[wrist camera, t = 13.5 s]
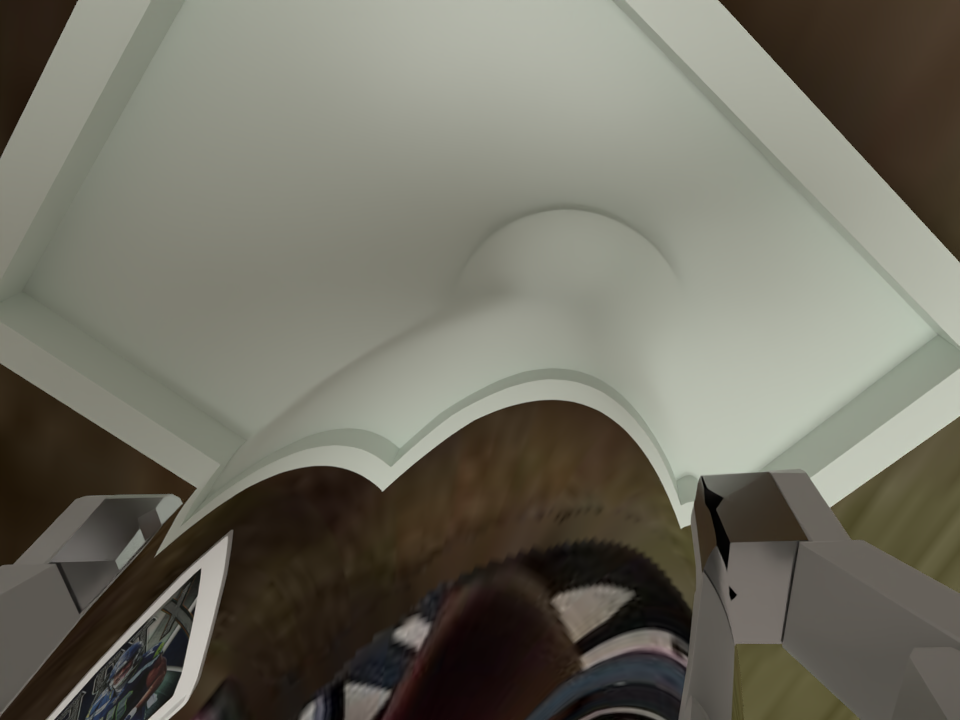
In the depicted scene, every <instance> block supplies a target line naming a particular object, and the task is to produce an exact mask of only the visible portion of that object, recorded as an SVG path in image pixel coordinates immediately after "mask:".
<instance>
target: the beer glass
mask: <svg viewBox="0 0 960 720" xmlns="http://www.w3.org/2000/svg"><path fill="white" fill-rule="evenodd" d="M687 331H688V316H687V308H686V303H685V299H684V295H683V292H682V289H681V287H680V284H679V282H678V280H677V278H676V276H675V274H674V272H673V271H672V269H671V267H670V266H669V264H668V263H667V261H666V260H665V258H664V257H663V256H662V255H661V253H660V252H659V251H658V250H657V249H656V248H655V247H654V246H653V245H652V244H651V243H650V242H649V241H648V240H647V239H646V238H644V237H643V236H642V235H641V234H639V233H638V232H636V231H635V230H633V229H632V228H630V227H628V226H627V225H625V224H623V223H621V222H619V221H617V220H615V219H612V218H609V217H607V216H604V215H600V214H597V213H592V212H587V211H581V210H550V211H543V212H538V213H534V214H530V215H527V216H524V217H521V218H519V219H517V220H514V221H512V222H510V223H508V224H507V225H505V226H503V227H502V228H500V229H498V230H497V231H496V232H494V233H493V234H492V235H490V236H489V237H488V238H487V239H486V240H485V241H484V242H483V243H482V244H481V245H480V246H479V247H478V248H477V249H476V251H475V252H474V253H473V255H472V256H471V257H470V259H469V260H468V262H467V263H466V265H465V267H464V268H463V270H462V272H461V274H460V277H459V279H458V281H457V284H456V286H455V289H454V292H453V295H452V298H451V302H450V305H449V306H447V307H446V308H444V309H442V310H441V311H439V312H437V313H435V314H433V315H431V316H429V317H428V318H426V319H424V320H422V321H420V322H418V323H416V324H414V325H412V326H411V327H409V328H407V329H405V330H403V331H401V332H400V333H398V334H396V335H394V336H392V337H391V338H389V339H387V340H385V341H383V342H382V343H380V344H378V345H376V346H374V347H373V348H371V349H369V350H367V351H366V352H364V353H362V354H361V355H359V356H358V357H356V358H355V359H353V360H352V361H350V362H349V363H347V364H346V365H344V366H343V367H341V368H340V369H338V370H337V371H335V372H334V373H332V374H331V375H329V376H328V377H326V378H325V379H323V380H322V381H320V382H319V383H317V384H316V385H314V386H313V387H311V388H310V389H308V390H307V391H306V392H304V393H303V394H301V395H300V396H299V397H297V398H296V399H295V400H294V401H292V402H291V403H290V404H289V405H288V406H287V407H286V408H284V409H283V410H282V411H281V412H280V413H279V414H277V415H276V416H275V417H274V418H273V419H272V420H271V421H269V422H268V423H267V424H266V425H265V426H264V427H262V428H261V429H260V430H259V431H258V432H257V433H256V434H254V435H253V436H252V437H251V438H250V439H249V440H248V441H246V442H245V443H244V444H243V445H242V446H241V447H239V448H238V449H237V450H236V451H235V452H234V453H233V454H231V455H230V456H229V457H228V458H227V459H226V460H225V461H224V462H223V463H222V464H221V465H220V466H219V467H218V468H217V469H216V470H215V471H214V472H213V473H212V474H211V475H210V476H209V477H208V478H207V479H206V480H205V481H204V482H203V483H202V484H201V485H200V486H199V487H198V488H197V489H196V490H195V491H194V492H193V493H192V494H191V495H190V496H189V497H188V498H187V499H186V500H185V501H184V502H183V503H182V504H181V505H180V506H179V507H178V508H177V509H176V510H175V511H174V512H173V513H172V514H171V515H170V516H169V518H168V519H167V520H166V521H165V522H164V523H163V524H162V525H161V526H160V527H159V528H158V529H157V530H156V531H155V532H154V533H153V534H152V535H151V536H150V537H149V538H148V539H147V540H146V541H145V542H144V543H143V544H142V545H141V547H140V548H139V549H138V550H137V551H136V552H135V553H134V554H133V555H132V557H131V558H130V559H129V560H128V561H127V562H126V563H125V564H124V565H123V566H122V568H121V569H120V570H119V571H118V572H117V573H116V574H115V575H114V576H113V578H112V579H111V580H110V581H109V582H108V583H107V584H106V585H105V586H104V588H103V589H102V590H101V591H100V592H99V593H98V594H97V595H96V596H95V598H94V599H93V600H92V601H91V602H90V603H89V604H88V605H87V606H86V607H85V609H84V610H83V611H82V612H81V613H80V614H79V615H78V616H77V617H76V619H75V620H74V621H73V622H72V623H71V624H70V625H69V626H68V628H67V629H66V630H65V631H64V632H63V633H62V634H61V636H60V637H59V638H58V639H57V640H56V641H55V642H54V644H53V645H52V646H51V647H50V648H49V649H48V651H47V652H46V653H45V654H44V655H43V656H42V657H41V659H40V660H39V661H38V662H37V663H36V664H35V666H34V667H33V668H32V669H31V670H30V671H29V672H28V674H27V675H26V676H25V677H24V678H23V679H22V681H21V682H20V683H19V684H18V685H17V686H16V687H15V689H14V690H13V691H12V692H11V693H10V694H9V696H8V697H7V698H6V699H5V700H4V701H3V702H2V704H1V705H0V720H744V715H743V697H742V681H741V671H740V664H739V656H738V649H737V642H736V634H735V627H734V619H733V612H732V605H731V597H730V590H729V582H728V576H727V570H726V566H725V561H724V557H723V554H722V550H721V546H720V542H719V539H718V535H717V531H716V527H715V524H714V520H713V516H712V513H711V509H710V505H709V501H708V498H707V494H706V490H705V487H704V484H703V481H702V478H701V475H700V473H699V470H698V467H697V464H696V461H695V459H694V456H693V453H692V450H691V447H690V445H689V442H688V439H687V436H686V433H685V431H684V428H683V425H682V423H681V420H680V418H679V415H678V413H677V410H676V407H675V405H674V402H673V400H672V397H671V393H670V390H669V389H670V387H671V385H672V383H673V381H674V379H675V377H676V374H677V372H678V370H679V367H680V364H681V362H682V359H683V355H684V352H685V347H686V341H687Z"/></svg>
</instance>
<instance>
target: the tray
mask: <svg viewBox="0 0 960 720" xmlns="http://www.w3.org/2000/svg"><path fill="white" fill-rule="evenodd" d="M550 210H581V211H587V212H592V213H597V214H600V215H604V216H607V217H609V218H612V219H615V220H617V221H619V222H621V223H623V224H625V225H627V226H628V227H630V228H632V229H633V230H635V231H636V232H638V233H639V234H641V235H642V236H643V237H644V238H646V239H647V240H648V241H649V242H650V243H651V244H652V245H653V246H654V247H655V248H656V249H657V250H658V251H659V252H660V253H661V255H662V256H663V257H664V258H665V260H666V261H667V263H668V264H669V266H670V267H671V269H672V271H673V272H674V274H675V276H676V278H677V280H678V282H679V284H680V287H681V289H682V292H683V295H684V299H685V303H686V308H687V316H688V331H687V341H686V347H685V352H684V355H683V359H682V362H681V364H680V367H679V370H678V372H677V374H676V377H675V379H674V381H673V383H672V385H671V387H670V389H669V390H670V393H671V397H672V400H673V402H674V405H675V407H676V410H677V413H678V415H679V418H680V420H681V423H682V425H683V428H684V431H685V433H686V436H687V439H688V442H689V445H690V447H691V450H692V453H693V456H694V459H695V461H696V464H697V467H698V470H699V473H700V475H707V474H729V473H751V472H765V471H770V470H785V469H801V470H803V471H805V472H806V473H807V475H808V476H809V477H810V479H811V480H812V482H813V483H814V485H815V486H816V488H817V489H818V491H819V492H820V494H821V495H822V497H823V498H824V500H825V501H826V503H827V504H828V506H829V507H831V506H833V505H834V504H836V503H837V502H838V501H840V500H841V499H843V498H844V497H846V496H847V495H848V494H850V493H851V492H853V491H854V490H856V489H857V488H858V487H860V486H861V485H863V484H864V483H865V482H867V481H868V480H870V479H871V478H873V477H874V476H875V475H877V474H878V473H880V472H881V471H882V470H884V469H885V468H887V467H888V466H890V465H891V464H892V463H894V462H895V461H897V460H898V459H899V458H901V457H902V456H904V455H905V454H907V453H908V452H909V451H911V450H912V449H914V448H915V447H916V446H918V445H919V444H921V443H922V442H924V441H925V440H926V439H928V438H929V437H931V436H932V435H933V434H935V433H936V432H938V431H939V430H941V429H942V428H943V427H945V426H946V425H948V424H949V423H951V422H952V421H953V420H955V419H956V418H958V417H959V416H960V263H959V261H958V260H957V259H956V258H955V257H954V256H953V255H952V254H951V253H950V252H949V251H948V249H947V248H946V247H945V246H944V245H943V244H942V243H941V242H940V241H939V240H938V239H937V238H936V236H935V235H934V234H933V233H932V232H931V231H930V230H929V229H928V228H927V227H926V226H925V224H924V223H923V222H922V221H921V220H920V219H919V218H918V217H917V216H916V215H915V214H914V212H913V211H912V210H911V209H910V208H909V207H908V206H907V205H906V204H905V203H904V202H903V201H902V199H901V198H900V197H899V196H898V195H897V194H896V193H895V192H894V191H893V190H892V189H891V187H890V186H889V185H888V184H887V183H886V182H885V181H884V180H883V179H882V178H881V177H880V176H879V174H878V173H877V172H876V171H875V170H874V169H873V168H872V167H871V166H870V165H869V164H868V162H867V161H866V160H865V159H864V158H863V157H862V156H861V155H860V154H859V153H858V152H857V151H856V149H855V148H854V147H853V146H852V145H851V144H850V143H849V142H848V141H847V140H846V139H845V137H844V136H843V135H842V134H841V133H840V132H839V131H838V130H837V129H836V128H835V127H834V126H833V124H832V123H831V122H830V121H829V120H828V119H827V118H826V117H825V116H824V115H823V114H822V112H821V111H820V110H819V109H818V108H817V107H816V106H815V105H814V104H813V103H812V102H811V101H810V99H809V98H808V97H807V96H806V95H805V94H804V93H803V92H802V91H801V90H800V89H799V87H798V86H797V85H796V84H795V83H794V82H793V81H792V80H791V79H790V78H789V77H788V76H787V74H786V73H785V72H784V71H783V70H782V69H781V68H780V67H779V66H778V65H777V64H776V62H775V61H774V60H773V59H772V58H771V57H770V56H769V55H768V54H767V53H766V52H765V51H764V49H763V48H762V47H761V46H760V45H759V44H758V43H757V42H756V41H755V40H754V39H753V37H752V36H751V35H750V34H749V33H748V32H747V31H746V30H745V29H744V28H743V27H742V26H741V24H740V23H739V22H738V21H737V20H736V19H735V18H734V17H733V16H732V15H731V14H730V12H729V11H728V10H727V9H726V8H725V7H724V6H723V5H722V4H721V3H720V2H719V1H718V0H78V2H77V4H76V6H75V8H74V10H73V12H72V14H71V16H70V18H69V20H68V22H67V24H66V26H65V28H64V30H63V32H62V34H61V36H60V38H59V40H58V42H57V44H56V46H55V48H54V50H53V52H52V54H51V56H50V58H49V60H48V63H47V65H46V67H45V69H44V71H43V73H42V75H41V77H40V79H39V81H38V83H37V85H36V87H35V89H34V91H33V93H32V95H31V97H30V99H29V101H28V103H27V105H26V107H25V109H24V111H23V113H22V115H21V117H20V119H19V121H18V124H17V126H16V128H15V130H14V132H13V134H12V136H11V138H10V140H9V142H8V144H7V146H6V148H5V150H4V152H3V154H2V156H1V158H0V363H1V364H2V365H4V366H5V367H7V368H8V369H10V370H12V371H13V372H15V373H16V374H18V375H20V376H21V377H23V378H24V379H26V380H27V381H29V382H31V383H32V384H34V385H35V386H37V387H38V388H40V389H42V390H43V391H45V392H46V393H48V394H49V395H51V396H53V397H54V398H56V399H57V400H59V401H61V402H62V403H64V404H65V405H67V406H68V407H70V408H72V409H73V410H75V411H76V412H78V413H79V414H81V415H83V416H84V417H86V418H87V419H89V420H90V421H92V422H94V423H95V424H97V425H98V426H100V427H102V428H103V429H105V430H106V431H108V432H109V433H111V434H113V435H114V436H116V437H117V438H119V439H120V440H122V441H124V442H125V443H127V444H128V445H130V446H131V447H133V448H135V449H136V450H138V451H139V452H141V453H143V454H144V455H146V456H147V457H149V458H150V459H152V460H154V461H155V462H157V463H158V464H160V465H161V466H163V467H165V468H166V469H168V470H169V471H171V472H172V473H174V474H176V475H177V476H179V477H180V478H182V479H184V480H185V481H187V482H188V483H190V484H191V485H193V486H195V487H196V488H198V487H199V486H200V485H201V484H202V483H203V482H204V481H205V480H206V479H207V478H208V477H209V476H210V475H211V474H212V473H213V472H214V471H215V470H216V469H217V468H218V467H219V466H220V465H221V464H222V463H223V462H224V461H225V460H226V459H227V458H228V457H229V456H230V455H231V454H233V453H234V452H235V451H236V450H237V449H238V448H239V447H241V446H242V445H243V444H244V443H245V442H246V441H248V440H249V439H250V438H251V437H252V436H253V435H254V434H256V433H257V432H258V431H259V430H260V429H261V428H262V427H264V426H265V425H266V424H267V423H268V422H269V421H271V420H272V419H273V418H274V417H275V416H276V415H277V414H279V413H280V412H281V411H282V410H283V409H284V408H286V407H287V406H288V405H289V404H290V403H291V402H292V401H294V400H295V399H296V398H297V397H299V396H300V395H301V394H303V393H304V392H306V391H307V390H308V389H310V388H311V387H313V386H314V385H316V384H317V383H319V382H320V381H322V380H323V379H325V378H326V377H328V376H329V375H331V374H332V373H334V372H335V371H337V370H338V369H340V368H341V367H343V366H344V365H346V364H347V363H349V362H350V361H352V360H353V359H355V358H356V357H358V356H359V355H361V354H362V353H364V352H366V351H367V350H369V349H371V348H373V347H374V346H376V345H378V344H380V343H382V342H383V341H385V340H387V339H389V338H391V337H392V336H394V335H396V334H398V333H400V332H401V331H403V330H405V329H407V328H409V327H411V326H412V325H414V324H416V323H418V322H420V321H422V320H424V319H426V318H428V317H429V316H431V315H433V314H435V313H437V312H439V311H441V310H442V309H444V308H446V307H447V306H449V305H450V302H451V298H452V295H453V292H454V289H455V286H456V284H457V281H458V279H459V277H460V274H461V272H462V270H463V268H464V267H465V265H466V263H467V262H468V260H469V259H470V257H471V256H472V255H473V253H474V252H475V251H476V249H477V248H478V247H479V246H480V245H481V244H482V243H483V242H484V241H485V240H486V239H487V238H488V237H489V236H490V235H492V234H493V233H494V232H496V231H497V230H498V229H500V228H502V227H503V226H505V225H507V224H508V223H510V222H512V221H514V220H517V219H519V218H521V217H524V216H527V215H530V214H534V213H538V212H543V211H550Z"/></svg>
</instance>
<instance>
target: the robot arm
mask: <svg viewBox="0 0 960 720" xmlns="http://www.w3.org/2000/svg"><path fill="white" fill-rule="evenodd" d="M701 478H702V481H703V484H704V487H705V490H706V494H707V498H708V501H709V505H710V509H711V513H712V516H713V520H714V524H715V527H716V531H717V535H718V539H719V542H720V546H721V550H722V554H723V557H724V561H725V566H726V570H727V576H728V582H729V590H730V597H731V605H732V612H733V619H734V627H735V634H736V642H737V643H743V644H783V646H782V647H783V648H784V649H785V650H786V651H788V652H789V653H790V654H791V655H792V656H793V657H794V658H795V659H796V660H797V661H798V662H799V663H800V664H802V665H803V666H804V667H805V668H806V669H807V670H808V671H809V672H810V673H811V674H812V675H813V676H814V677H816V678H817V679H818V680H819V681H820V682H821V683H822V684H823V685H824V686H825V687H826V688H827V689H829V690H830V691H831V692H832V693H833V694H834V695H835V696H836V697H837V698H838V699H839V700H840V701H841V702H843V703H844V704H845V705H846V706H847V707H848V708H849V709H850V710H851V711H852V712H853V713H854V714H855V715H857V716H858V717H859V718H860V719H861V720H960V594H959V593H958V592H956V591H954V590H952V589H950V588H949V587H947V586H945V585H943V584H941V583H939V582H938V581H936V580H934V579H932V578H930V577H929V576H927V575H925V574H923V573H921V572H920V571H918V570H916V569H914V568H912V567H910V566H909V565H907V564H905V563H903V562H901V561H900V560H898V559H896V558H894V557H892V556H891V555H889V554H887V553H885V552H883V551H881V550H880V549H878V548H876V547H874V546H872V545H871V544H869V543H867V542H865V541H863V540H851V538H850V537H849V535H848V534H847V533H846V531H845V530H844V528H843V527H842V525H841V524H840V522H839V521H838V519H837V518H836V516H835V515H834V513H833V512H832V510H831V509H830V507H829V506H828V504H827V503H826V501H825V500H824V498H823V497H822V495H821V494H820V492H819V491H818V489H817V488H816V486H815V485H814V483H813V482H812V480H811V479H810V477H809V476H808V475H807V473H806V472H805V471H803V470H801V469H785V470H770V471H765V472H751V473H729V474H707V475H701ZM181 504H182V502H181V499H180V498H179V497H177V496H175V495H173V494H139V495H113V496H112V495H97V496H84V497H81V498H78V499H75V501H74V502H73V503H72V504H71V505H70V506H69V507H68V508H67V509H66V510H65V511H64V512H63V513H62V514H61V515H60V516H59V517H58V518H57V519H56V520H55V521H54V522H53V523H52V525H51V526H50V527H49V528H48V529H47V530H46V531H45V532H44V533H43V534H42V535H41V536H40V537H39V538H38V539H37V540H36V541H35V542H34V543H33V544H32V545H31V546H30V547H29V549H28V550H27V551H26V552H25V553H24V554H23V555H22V556H21V557H20V558H19V559H18V560H17V561H16V562H15V563H14V564H13V565H3V566H1V567H0V705H1V704H2V702H3V701H4V700H5V699H6V698H7V697H8V696H9V694H10V693H11V692H12V691H13V690H14V689H15V687H16V686H17V685H18V684H19V683H20V682H21V681H22V679H23V678H24V677H25V676H26V675H27V674H28V672H29V671H30V670H31V669H32V668H33V667H34V666H35V664H36V663H37V662H38V661H39V660H40V659H41V657H42V656H43V655H44V654H45V653H46V652H47V651H48V649H49V648H50V647H51V646H52V645H53V644H54V642H55V641H56V640H57V639H58V638H59V637H60V636H61V634H62V633H63V632H64V631H65V630H66V629H67V628H68V626H69V625H70V624H71V623H72V622H73V621H74V620H75V619H76V617H77V616H78V615H79V614H80V613H81V612H82V611H83V610H84V609H85V607H86V606H87V605H88V604H89V603H90V602H91V601H92V600H93V599H94V598H95V596H96V595H97V594H98V593H99V592H100V591H101V590H102V589H103V588H104V586H105V585H106V584H107V583H108V582H109V581H110V580H111V579H112V578H113V576H114V575H115V574H116V573H117V572H118V571H119V570H120V569H121V568H122V566H123V565H124V564H125V563H126V562H127V561H128V560H129V559H130V558H131V557H132V555H133V554H134V553H135V552H136V551H137V550H138V549H139V548H140V547H141V545H142V544H143V543H144V542H145V541H146V540H147V539H148V538H149V537H150V536H151V535H152V534H153V533H154V532H155V531H156V530H157V529H158V528H159V527H160V526H161V525H162V524H163V523H164V522H165V521H166V520H167V519H168V518H169V516H170V515H171V514H172V513H173V512H174V511H175V510H176V509H177V508H178V507H179V506H180V505H181Z"/></svg>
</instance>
